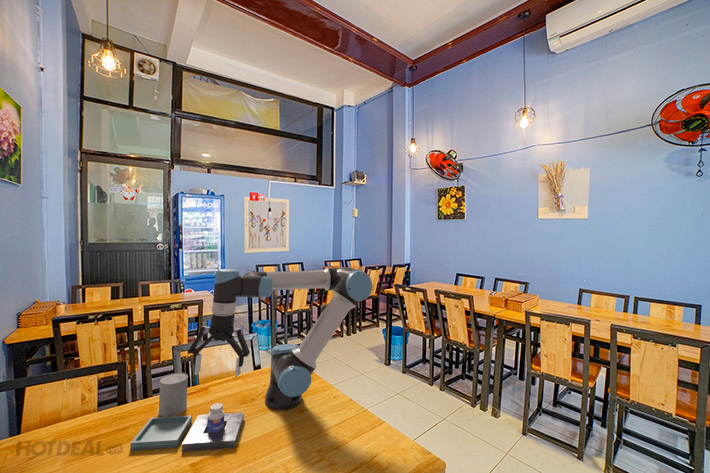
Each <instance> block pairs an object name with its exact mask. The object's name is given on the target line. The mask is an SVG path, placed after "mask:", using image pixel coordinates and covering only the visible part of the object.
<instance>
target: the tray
mask: <svg viewBox="0 0 710 473" xmlns="http://www.w3.org/2000/svg"><path fill="white" fill-rule="evenodd" d="M192 416H193V415H175V416H171V417H163V416H157V417H156V416H155V417H153V416H152V417H150V418H149V419H148V421H147V422H146V423H145V425H144V426H143V427H142V428H141V429H140V431H139V432H138V433H137V434H136V436H135V437H134V438H133V439H132V440H131V442H130V443H129V444H130V446H129V447H130V452H131V451H147V450H161V449H162V450H163V449H177V448H178V446H179V444H180V443H181V442H182V439H183V438H184V436H185V434H186V433H187V431H188V430H189V427H190V426H191V424H192V420H193V417H192Z"/></svg>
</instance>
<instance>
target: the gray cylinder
mask: <svg viewBox="0 0 710 473" xmlns="http://www.w3.org/2000/svg"><path fill="white" fill-rule="evenodd" d="M188 378H189V376H188V374H187V373H185V372H174V373H170V374H167V375H164V376H163V377H161V378H160V379H159V396H158V397H159V398H158V399H159V400H158V415H159V417H173V416H179V415H180V414H182V413H184V412H185V411H186V410H187V407H188V404H187V402H188V401H187V400H188V383H189V381H188V380H189V379H188Z"/></svg>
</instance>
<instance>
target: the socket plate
mask: <svg viewBox="0 0 710 473" xmlns="http://www.w3.org/2000/svg"><path fill="white" fill-rule="evenodd" d="M208 414H209V413H207V414H205V413H204V414H198V415H197V417H196V418H195V420H194V422H193V424H192V426H191V427H190V429H189V431H188V433H187V435H186V436H185V438H184V440H183V442H182V443H181V452H182V453H184V452H186V453H187V452H201V451H213V450H228V449H229V450H230V449H235V448H236V445H237V441H238V438H239V435H240V432H241V429H242V425H243V423H244V417H245V412H230V413H229V412H228V413H225V412H224V431H223V432H217V433H207V418H208Z"/></svg>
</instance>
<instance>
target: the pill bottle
mask: <svg viewBox="0 0 710 473" xmlns="http://www.w3.org/2000/svg"><path fill="white" fill-rule="evenodd" d="M223 407H224V405H223V403H220V402H219V403H213V404H211V405H210V408H209V412H208V413H207V414H208V418H207V433H217V432H223V431H224V414H225V411H224V410H223V409H224V408H223Z"/></svg>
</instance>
